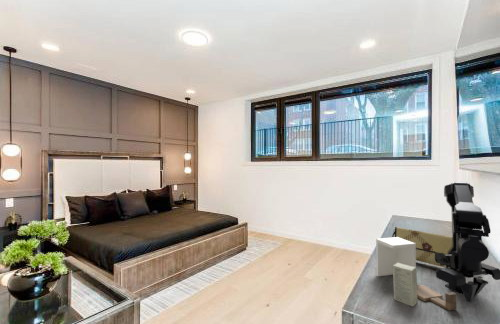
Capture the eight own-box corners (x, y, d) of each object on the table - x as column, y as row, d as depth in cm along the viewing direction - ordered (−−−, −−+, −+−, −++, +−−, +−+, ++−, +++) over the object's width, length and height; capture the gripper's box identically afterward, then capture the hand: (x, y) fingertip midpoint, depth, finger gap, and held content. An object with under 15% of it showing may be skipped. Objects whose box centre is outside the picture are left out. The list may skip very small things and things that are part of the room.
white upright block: (398, 272, 108) (397, 236, 108) (416, 282, 99) (415, 243, 99) (376, 275, 105) (376, 238, 105) (393, 285, 96) (392, 245, 97)
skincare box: (417, 302, 85) (417, 267, 85) (412, 307, 82) (412, 270, 82) (397, 295, 90) (397, 261, 90) (392, 299, 87) (392, 264, 87)
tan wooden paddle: (422, 287, 95) (422, 273, 95) (462, 309, 80) (462, 293, 80) (404, 289, 93) (404, 275, 93) (443, 312, 79) (442, 296, 79)
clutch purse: (389, 257, 125) (388, 228, 125) (394, 254, 130) (393, 225, 130) (466, 277, 103) (465, 242, 103) (468, 272, 107) (468, 238, 108)
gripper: (464, 240, 85) (464, 285, 85) (419, 244, 81) (420, 292, 81) (503, 251, 74) (504, 303, 74) (455, 257, 70) (455, 312, 70)
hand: (469, 301), depth 75 cm, fingers closed
